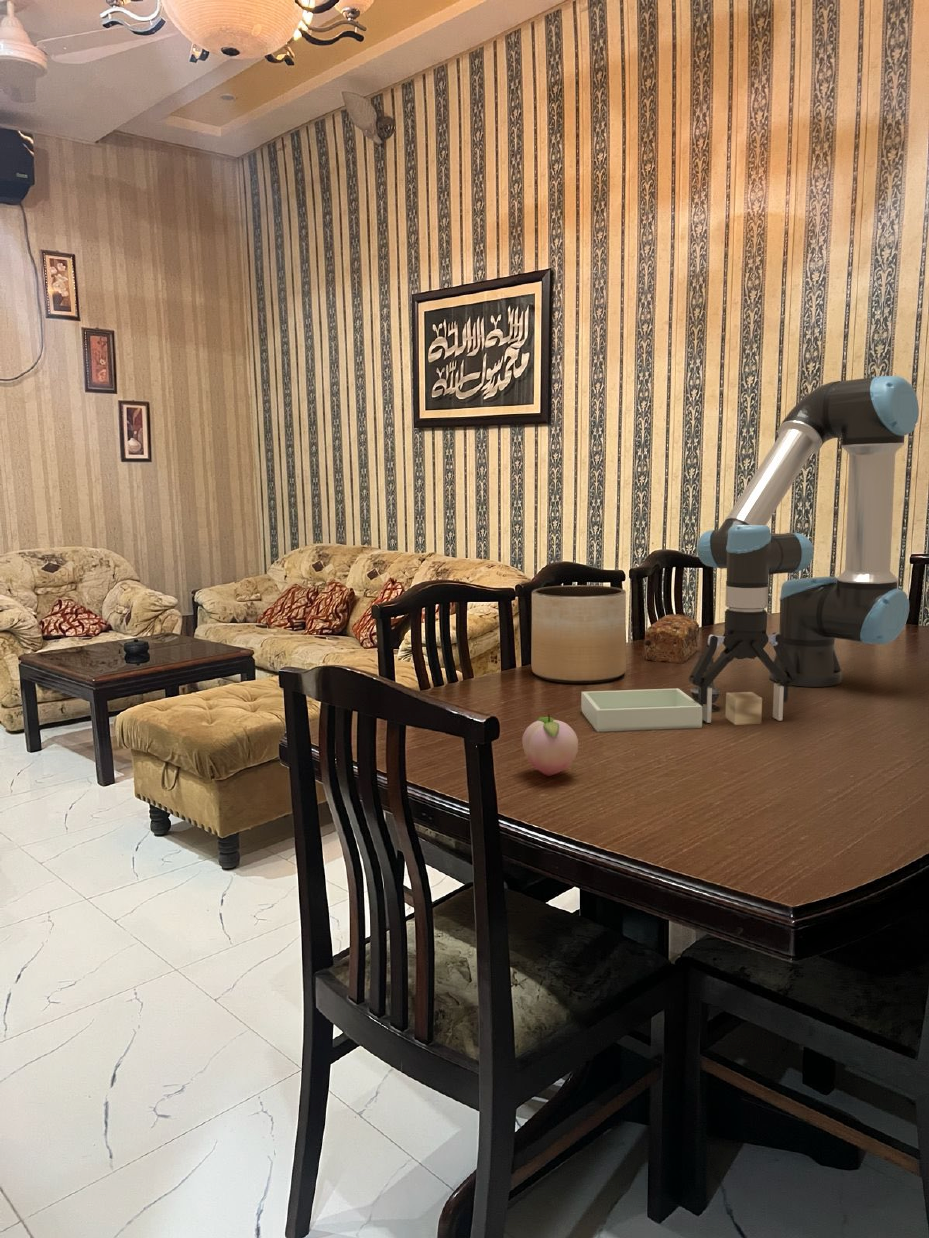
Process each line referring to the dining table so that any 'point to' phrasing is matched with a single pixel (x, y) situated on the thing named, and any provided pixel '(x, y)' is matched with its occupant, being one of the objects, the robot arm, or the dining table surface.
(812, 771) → the dining table surface
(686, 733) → the dining table surface
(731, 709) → the maple cube
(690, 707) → the tray
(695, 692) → the dark grey tall piece
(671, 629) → the bread
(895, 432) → the robot arm
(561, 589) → the planter
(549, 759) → the decorative fruit
